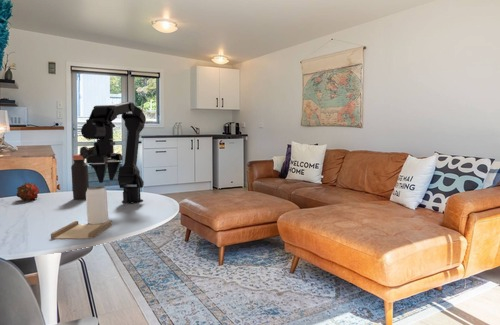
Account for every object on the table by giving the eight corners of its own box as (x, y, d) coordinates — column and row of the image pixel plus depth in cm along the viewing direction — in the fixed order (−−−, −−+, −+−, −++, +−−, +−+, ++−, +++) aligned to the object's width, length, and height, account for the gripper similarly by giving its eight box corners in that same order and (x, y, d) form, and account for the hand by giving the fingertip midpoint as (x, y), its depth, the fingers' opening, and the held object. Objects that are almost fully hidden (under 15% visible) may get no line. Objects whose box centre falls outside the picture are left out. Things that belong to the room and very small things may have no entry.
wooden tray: (75, 225, 118) (75, 221, 118) (111, 225, 117) (111, 220, 117) (51, 238, 104) (50, 233, 104) (91, 238, 103) (91, 233, 103)
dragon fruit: (25, 206, 156) (28, 205, 167) (43, 193, 160) (44, 192, 170) (11, 191, 154) (14, 191, 165) (28, 178, 158) (31, 179, 168)
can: (112, 220, 123) (110, 186, 122) (98, 225, 117) (96, 189, 116) (97, 219, 125) (95, 185, 124) (83, 224, 119) (80, 188, 118)
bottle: (80, 196, 168) (78, 154, 166) (93, 197, 166) (90, 154, 164) (69, 199, 161) (66, 155, 159) (82, 200, 159) (79, 155, 157)
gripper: (94, 139, 142) (96, 179, 143) (70, 139, 123) (72, 184, 124) (122, 139, 142) (123, 178, 143) (102, 139, 123) (104, 184, 124)
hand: (106, 181), depth 133 cm, fingers open, 9 cm apart
